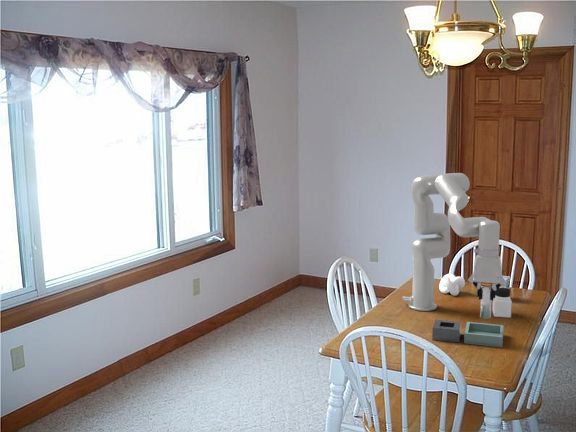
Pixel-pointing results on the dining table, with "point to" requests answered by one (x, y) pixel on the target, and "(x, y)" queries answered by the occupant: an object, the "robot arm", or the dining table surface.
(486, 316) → the pin
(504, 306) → the medicine bottle
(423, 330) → the dining table surface
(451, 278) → the white irregular lump
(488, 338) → the tray
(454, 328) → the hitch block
